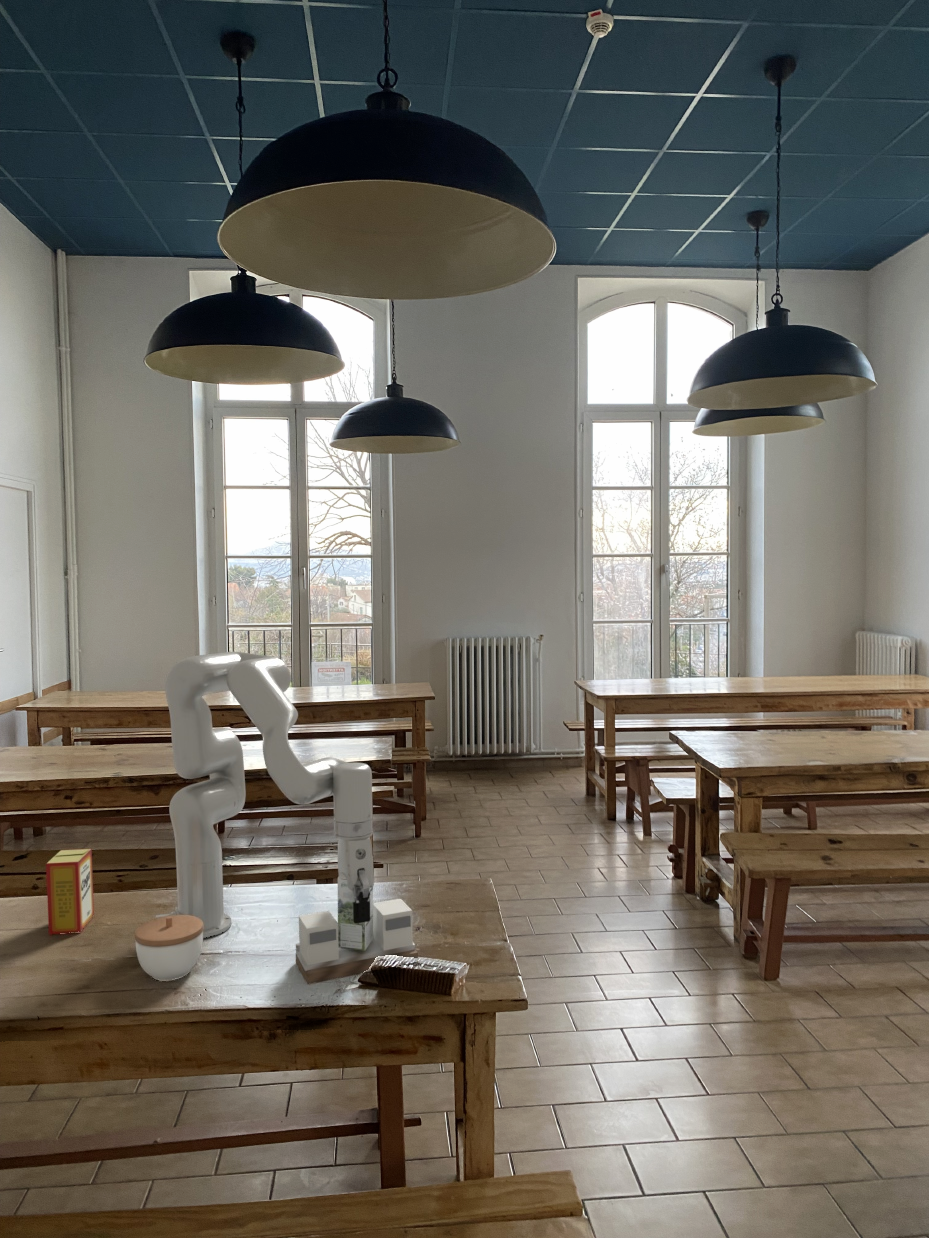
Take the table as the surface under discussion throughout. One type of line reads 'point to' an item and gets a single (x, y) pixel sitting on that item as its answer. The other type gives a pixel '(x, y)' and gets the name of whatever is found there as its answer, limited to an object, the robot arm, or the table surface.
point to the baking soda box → (70, 890)
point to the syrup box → (347, 929)
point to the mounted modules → (323, 931)
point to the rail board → (348, 962)
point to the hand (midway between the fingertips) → (354, 912)
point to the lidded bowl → (169, 945)
